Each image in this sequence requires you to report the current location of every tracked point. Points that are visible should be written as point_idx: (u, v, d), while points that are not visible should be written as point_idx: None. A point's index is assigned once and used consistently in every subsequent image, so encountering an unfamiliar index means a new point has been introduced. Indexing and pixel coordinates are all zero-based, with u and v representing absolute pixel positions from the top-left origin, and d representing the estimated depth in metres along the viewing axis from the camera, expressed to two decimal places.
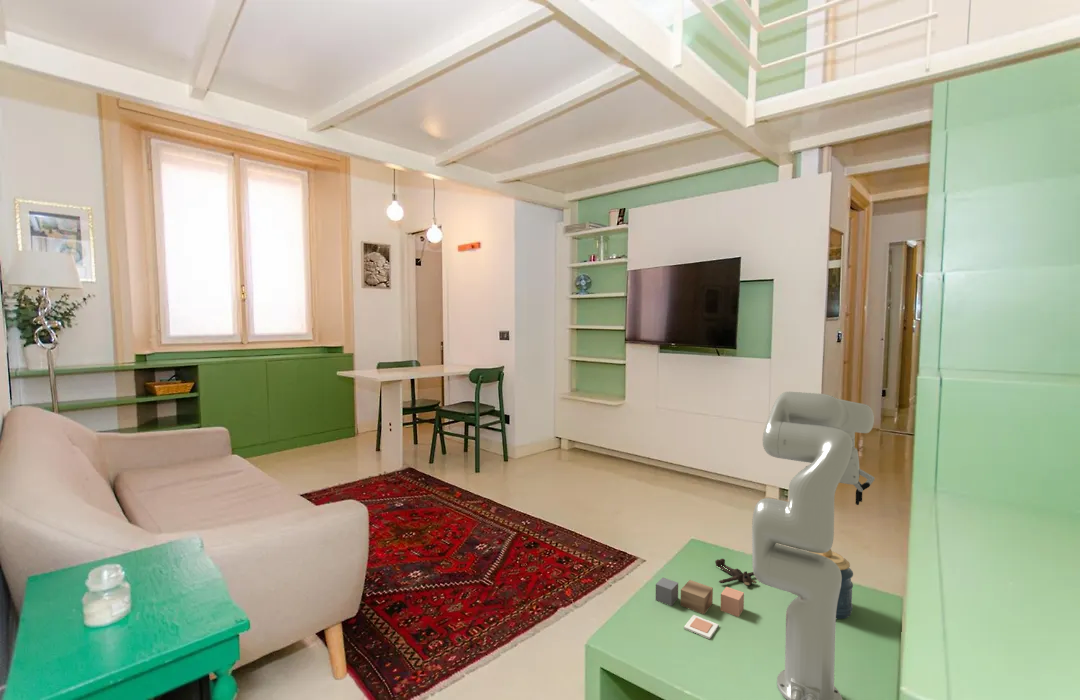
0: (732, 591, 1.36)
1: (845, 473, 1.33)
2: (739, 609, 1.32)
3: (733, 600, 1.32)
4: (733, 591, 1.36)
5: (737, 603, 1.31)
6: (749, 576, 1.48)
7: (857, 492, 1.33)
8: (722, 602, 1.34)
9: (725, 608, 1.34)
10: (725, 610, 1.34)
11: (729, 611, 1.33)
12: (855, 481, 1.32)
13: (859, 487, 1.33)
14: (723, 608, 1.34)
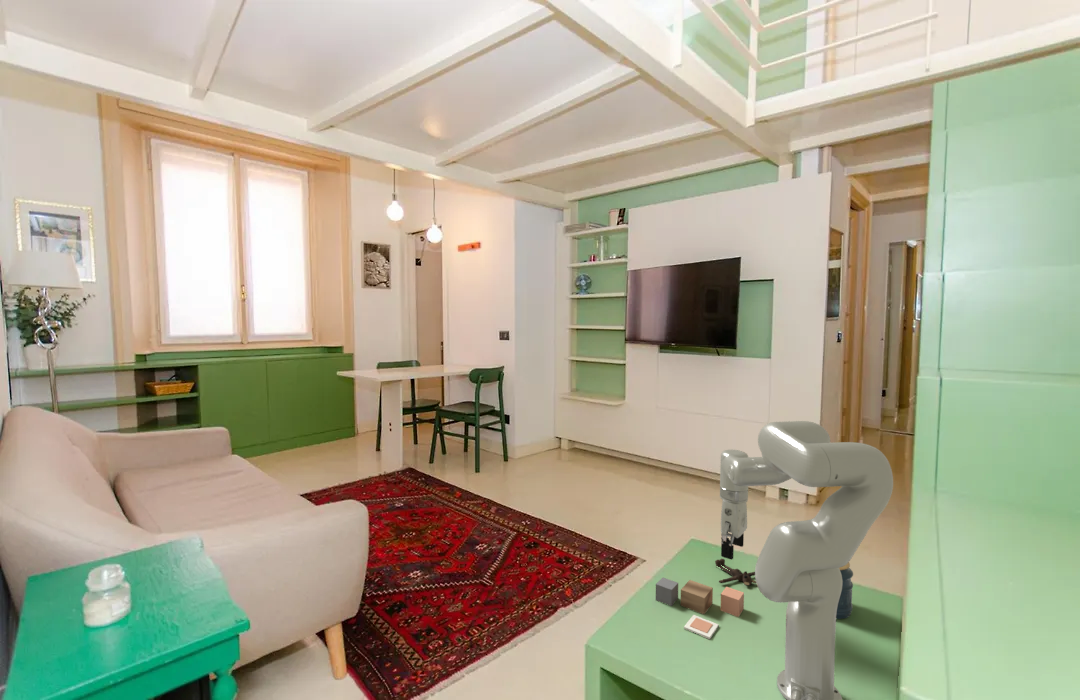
0: (732, 591, 1.36)
1: (745, 521, 1.34)
2: (739, 609, 1.32)
3: (733, 600, 1.32)
4: (733, 591, 1.36)
5: (737, 603, 1.31)
6: (749, 576, 1.48)
7: (743, 534, 1.37)
8: (722, 602, 1.34)
9: (725, 608, 1.34)
10: (725, 610, 1.34)
11: (729, 611, 1.33)
12: None
13: None
14: (723, 608, 1.34)
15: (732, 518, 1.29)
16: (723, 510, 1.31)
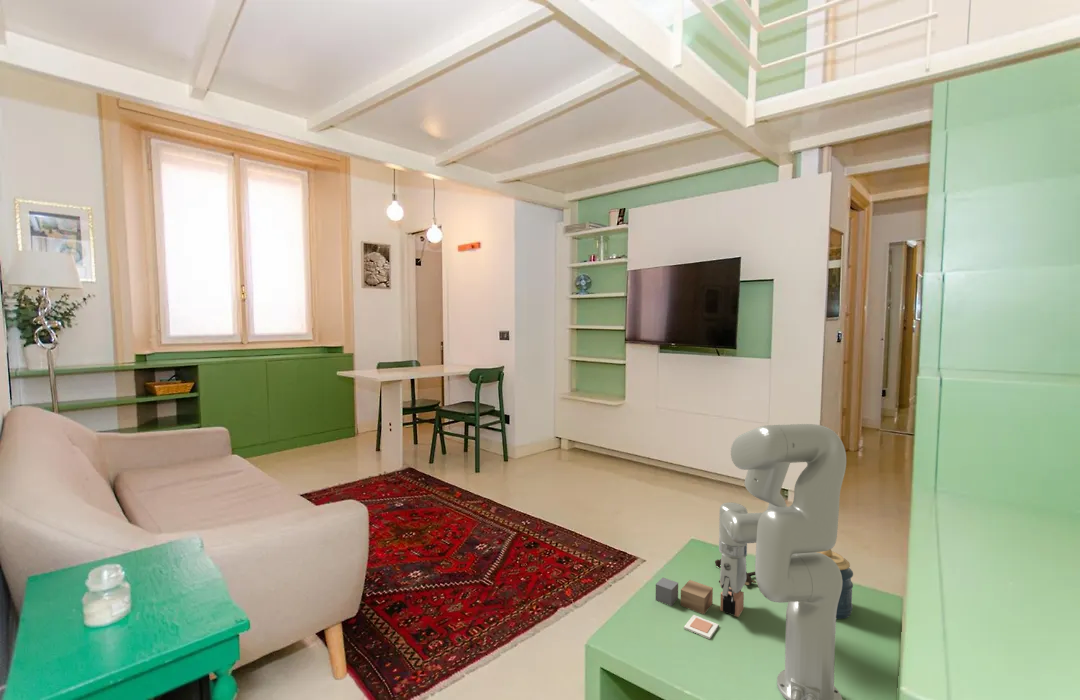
0: None
1: (744, 575, 1.34)
2: (739, 609, 1.32)
3: None
4: None
5: (737, 603, 1.32)
6: (749, 576, 1.48)
7: None
8: (722, 601, 1.34)
9: None
10: None
11: None
12: (746, 577, 1.36)
13: None
14: None
15: (731, 573, 1.30)
16: (722, 565, 1.32)
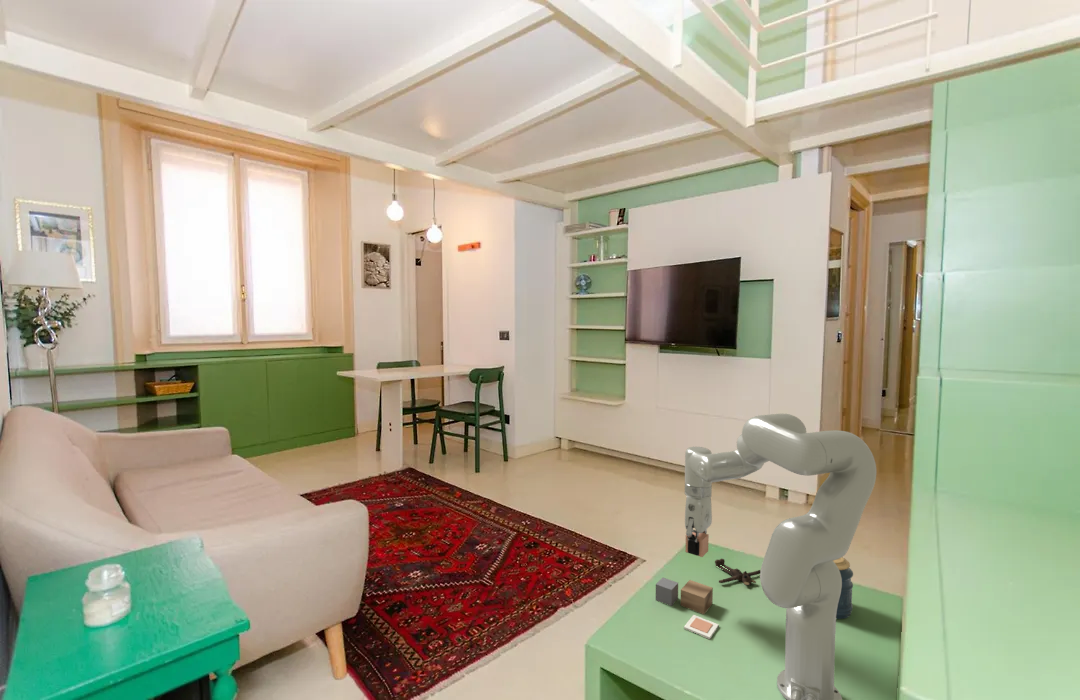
0: None
1: (709, 517, 1.36)
2: (703, 549, 1.34)
3: None
4: None
5: (701, 543, 1.34)
6: (749, 576, 1.49)
7: None
8: (687, 543, 1.36)
9: None
10: None
11: None
12: (711, 520, 1.38)
13: (705, 530, 1.39)
14: None
15: (695, 514, 1.32)
16: (687, 506, 1.34)
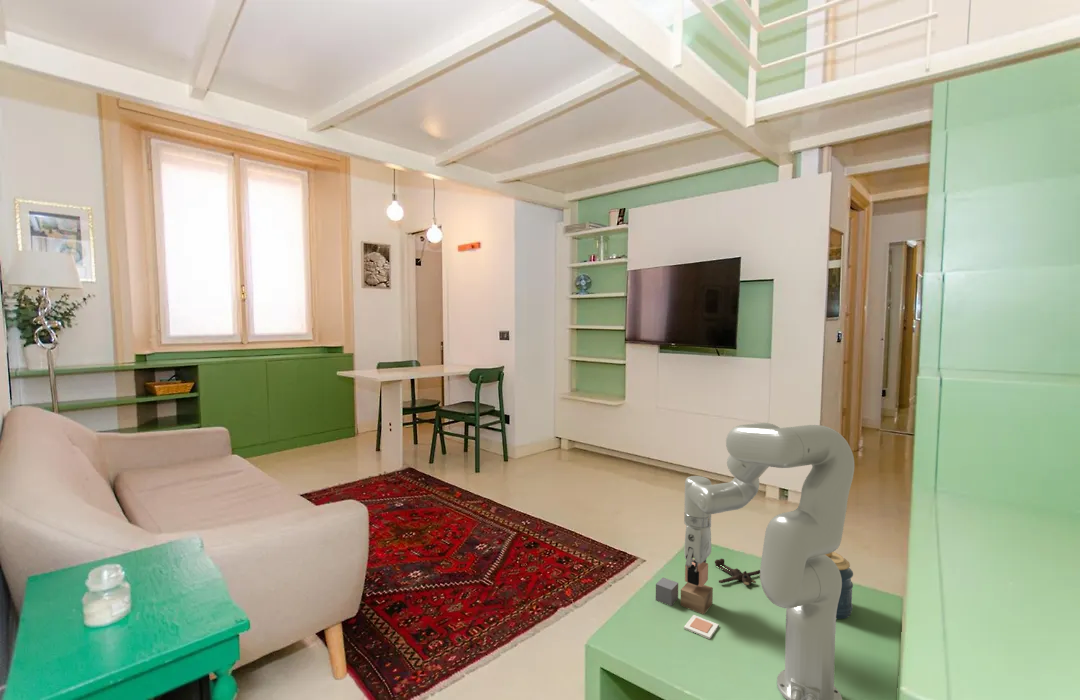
0: None
1: (709, 546, 1.37)
2: (702, 579, 1.34)
3: None
4: None
5: (700, 573, 1.34)
6: (749, 576, 1.49)
7: None
8: (686, 572, 1.37)
9: None
10: None
11: None
12: None
13: (705, 559, 1.39)
14: None
15: (695, 544, 1.32)
16: (686, 536, 1.34)
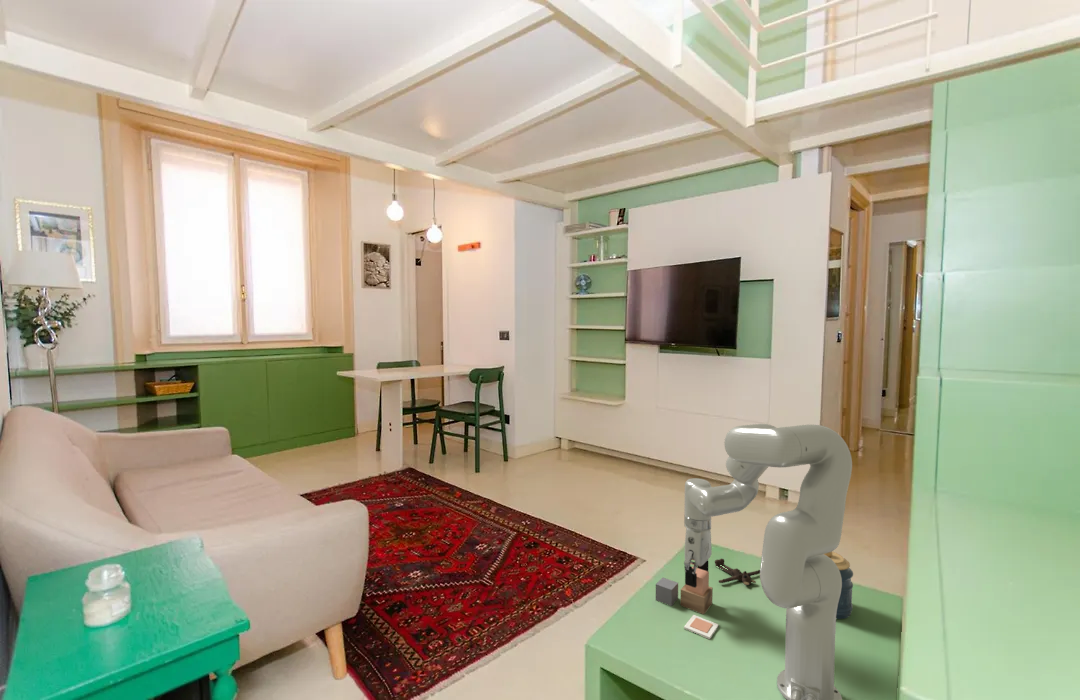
0: (697, 570, 1.38)
1: (709, 549, 1.37)
2: (703, 587, 1.34)
3: (698, 579, 1.34)
4: (698, 570, 1.38)
5: (701, 582, 1.34)
6: (748, 576, 1.49)
7: (707, 562, 1.40)
8: None
9: (690, 587, 1.36)
10: (690, 589, 1.36)
11: (694, 590, 1.35)
12: (711, 552, 1.39)
13: None
14: (688, 587, 1.36)
15: (695, 547, 1.32)
16: (686, 538, 1.34)
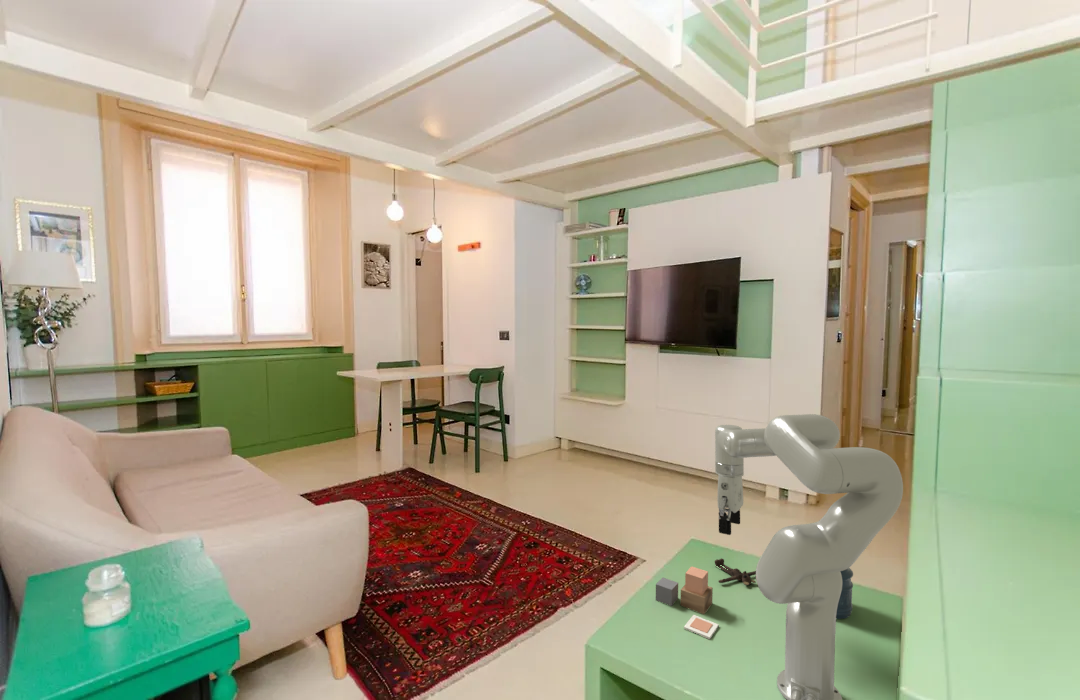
0: (696, 570, 1.38)
1: (741, 497, 1.33)
2: (703, 587, 1.34)
3: (697, 579, 1.34)
4: (697, 570, 1.38)
5: (701, 581, 1.34)
6: (748, 576, 1.49)
7: (739, 511, 1.36)
8: (687, 581, 1.36)
9: (689, 587, 1.36)
10: (689, 589, 1.36)
11: (693, 590, 1.35)
12: None
13: None
14: (687, 587, 1.36)
15: (729, 492, 1.28)
16: (719, 485, 1.30)
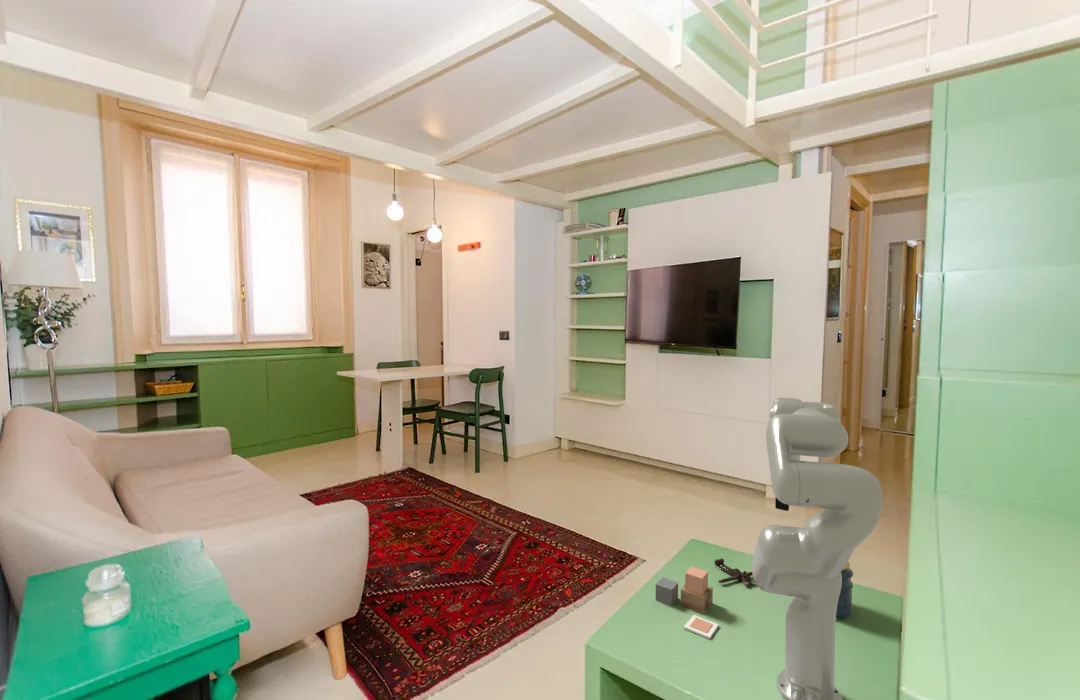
0: (696, 570, 1.38)
1: None
2: (703, 587, 1.34)
3: (697, 579, 1.34)
4: (697, 570, 1.38)
5: (701, 581, 1.34)
6: (748, 576, 1.49)
7: None
8: (686, 581, 1.36)
9: (689, 587, 1.36)
10: (689, 589, 1.36)
11: (693, 590, 1.35)
12: None
13: None
14: (687, 587, 1.36)
15: None
16: None
